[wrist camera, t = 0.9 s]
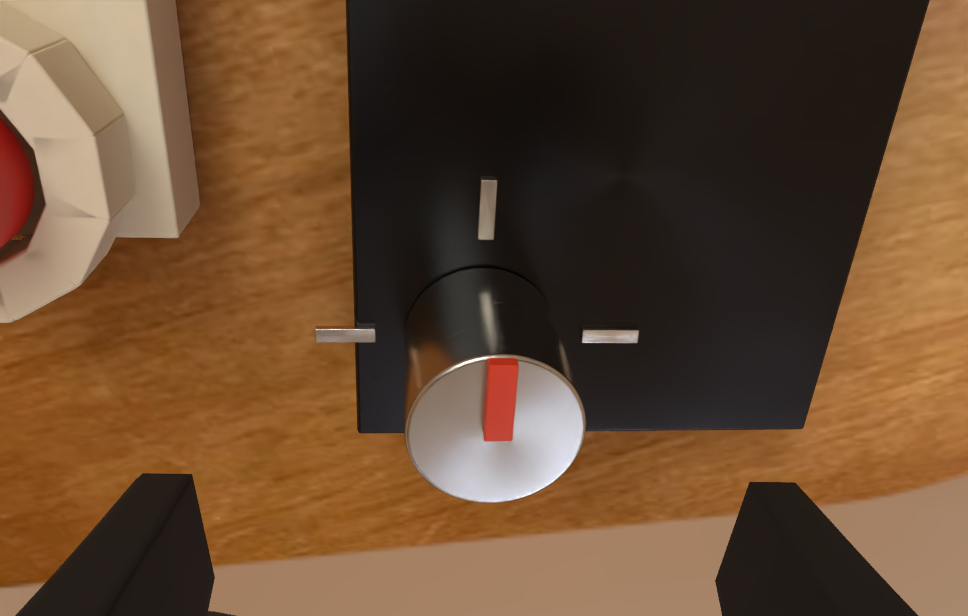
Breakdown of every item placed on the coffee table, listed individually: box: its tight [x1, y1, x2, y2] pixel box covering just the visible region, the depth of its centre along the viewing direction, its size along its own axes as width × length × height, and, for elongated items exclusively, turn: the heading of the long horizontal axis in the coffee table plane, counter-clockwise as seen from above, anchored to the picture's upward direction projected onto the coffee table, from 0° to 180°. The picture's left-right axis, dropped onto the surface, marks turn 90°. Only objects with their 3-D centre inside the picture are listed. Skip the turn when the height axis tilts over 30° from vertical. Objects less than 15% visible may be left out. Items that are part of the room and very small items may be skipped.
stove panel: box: [315, 0, 929, 433], centre depth 19 cm, size 15×13×3 cm
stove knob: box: [404, 268, 586, 503], centre depth 17 cm, size 4×4×4 cm
